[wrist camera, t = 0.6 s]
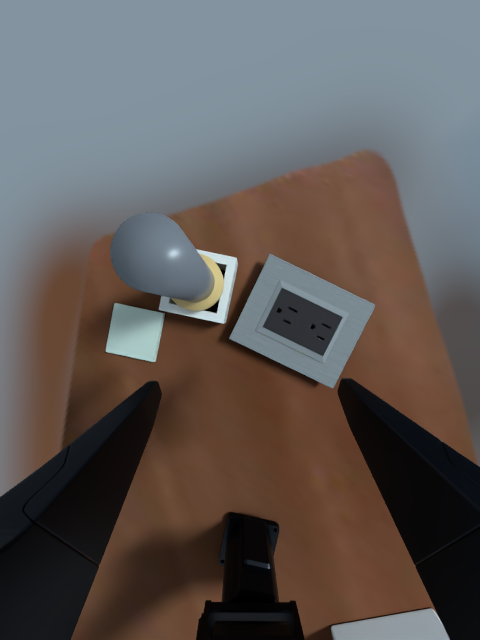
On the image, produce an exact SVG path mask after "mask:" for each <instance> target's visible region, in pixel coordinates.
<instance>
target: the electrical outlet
mask: <svg viewBox="0 0 480 640" xmlns="http://www.w3.org/2000/svg"><path fill="white" fill-rule="evenodd" d="M374 307H375V305H374V304H372V303H370V302H368V301H366V300H364V299H362V298H360V297H358V296H356V295H354V294H352V293H350V292H348V291H346V290H344V289H341V288H339V287H337V286H335V285H333V284H331V283H329V282H327V281H325V280H323V279H321V278H319V277H317V276H315V275H313V274H311V273H309V272H307V271H305V270H302V269H300V268H298V267H296V266H294V265H292V264H290V263H288V262H286V261H284V260H282V259H280V258H278V257H276V256H274V255H272V254H270V255H269V257H268V259H267V261H266V263H265V265H264V267H263V269H262V271H261V273H260V275H259V278H258V280H257V282H256V284H255V286H254V288H253V290H252V292H251V294H250V296H249V298H248V300H247V302H246V304H245V307H244V309H243V311H242V313H241V315H240V317H239V319H238V321H237V323H236V325H235V327H234V329H233V331H232V333H231V336H230V338H229V339H231V340H233V341H235V342H237V343H239V344H241V345H244V346H246V347H248V348H250V349H252V350H254V351H256V352H258V353H260V354H262V355H264V356H266V357H268V358H270V359H272V360H275V361H277V362H279V363H281V364H283V365H285V366H287V367H289V368H291V369H293V370H295V371H297V372H299V373H301V374H303V375H306V376H308V377H310V378H312V379H314V380H316V381H318V382H320V383H322V384H324V385H326V386H328V387H330V388H332V389H333V387H334V385H335V383H336V381H337V380H338V378H339V376H340V374H341V372H342V370H343V368H344V366H345V364H346V362H347V360H348V358H349V356H350V354H351V352H352V350H353V348H354V346H355V344H356V342H357V341H358V339H359V337H360V335H361V333H362V331H363V329H364V327H365V325H366V323H367V321H368V319H369V317H370V315H371V313H372V311H373V309H374Z"/></svg>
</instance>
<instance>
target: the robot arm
mask: <svg viewBox="0 0 480 640" xmlns="http://www.w3.org/2000/svg"><path fill="white" fill-rule="evenodd" d="M161 395H162V393H161V389H160V386H159V383H158V382H157V381H148V382H147V383H145V384H144V385H143V386H142V387H141V388H139V389H138V390H137V391H136V392H134V393H133V394H132V395H131V396H129V397H128V398H127V399H126V400H124V401H123V402H122V403H121V404H119V405H118V406H117V407H116V408H114V409H113V410H112V411H111V412H109V413H108V414H107V415H106V416H104V417H103V418H102V419H101V420H99V421H98V422H97V423H96V424H94V425H93V426H92V427H91V428H89V429H88V430H87V431H86V432H84V433H83V434H82V435H81V436H79V437H78V438H77V439H76V440H75V441H73V442H72V443H71V444H70V445H68V446H67V447H66V448H64V449H63V450H62V451H61V452H59V453H58V454H57V455H56V456H54V457H53V458H52V459H51V460H49V461H48V462H47V463H45V464H44V465H43V466H42V467H40V468H39V469H38V470H36V471H35V472H34V473H32V474H31V475H30V476H28V477H27V478H26V479H24V480H23V481H21V483H19V484H17V485H16V486H15V487H14V488H12V489H10V490H9V491H8V492H7V493H5V494H4V495H3V496H1V497H0V640H71V637H72V635H73V632H74V629H75V627H76V624H77V622H78V619H79V617H80V614H81V612H82V609H83V606H84V604H85V601H86V599H87V596H88V594H89V591H90V588H91V586H92V583H93V581H94V578H95V576H96V573H97V570H98V568H99V566H98V565H99V564H100V562H101V560H102V557H103V555H104V552H105V549H106V547H107V544H108V542H109V539H110V537H111V534H112V531H113V529H114V526H115V524H116V521H117V519H118V516H119V513H120V511H121V508H122V506H123V503H124V501H125V498H126V495H127V493H128V490H129V488H130V485H131V483H132V480H133V477H134V475H135V472H136V470H137V467H138V465H139V462H140V460H141V457H142V454H143V452H144V449H145V447H146V444H147V442H148V439H149V436H150V434H151V431H152V428H153V425H154V421H155V418H156V414H157V411H158V407H159V403H160V400H161ZM338 396H339V399H340V402H341V404H342V407H343V410H344V413H345V416H346V418H347V421H348V424H349V426H350V429H351V431H352V433H353V435H354V437H355V440H356V442H357V444H358V446H359V448H360V450H361V452H362V454H363V456H364V459H365V461H366V463H367V465H368V467H369V469H370V471H371V473H372V476H373V478H374V480H375V482H376V484H377V486H378V488H379V490H380V492H381V495H382V497H383V499H384V501H385V503H386V505H387V507H388V509H389V512H390V514H391V516H392V518H393V520H394V522H395V524H396V526H397V529H398V531H399V533H400V535H401V537H402V539H403V541H404V543H405V545H406V548H407V550H408V552H409V554H410V556H411V558H412V560H413V562H414V564H415V565H416V569H417V571H418V573H419V575H420V578H421V580H422V582H423V584H424V586H425V588H426V590H427V592H428V595H429V597H430V599H431V601H432V603H433V605H434V607H435V609H436V611H437V614H438V616H439V618H440V620H441V622H442V624H443V626H444V628H445V631H446V633H447V635H448V637H449V639H450V640H480V467H479V466H478V465H476V464H475V463H473V462H472V461H470V460H469V459H467V458H466V457H464V456H463V455H461V454H460V453H458V452H457V451H455V450H454V449H453V448H451V447H450V446H448V445H447V444H445V443H444V442H441V440H439V439H438V438H437V437H435V436H434V435H432V434H431V433H429V432H428V431H426V430H425V429H424V428H422V427H421V426H419V425H418V424H416V423H415V422H413V421H412V420H411V419H409V418H408V417H406V416H405V415H403V414H402V413H400V412H399V411H398V410H396V409H395V408H393V407H392V406H390V405H389V404H388V403H386V402H385V401H383V400H382V399H380V398H379V397H377V396H376V395H375V394H373V393H372V392H370V391H369V390H367V389H366V388H364V387H363V386H362V385H360V384H359V383H357V382H356V381H354V380H353V379H351V378H343V379H341V381H340V384H339V387H338ZM231 518H232V519H231ZM278 534H279V525H278V524H277V523H276V522H271V521H267V520H262V519H258V518H253V517H248V516H244V515H239V514H235V513H230V514H229V515H228V518H227V522H226V527H225V532H224V536H223V541H222V545H221V550H220V554H219V564H220V565H222V566H224V577H223V590H222V602H211V600H206V602H205V608H204V613H202V616H201V618H200V619H199V623H198V630H197V637H196V640H305V639H304V635H303V631H302V626H301V622H300V618H299V614H298V609H297V605H296V601H290V602H279V597H278V589H277V582H276V574H275V566H274V558H273V556H274V551H275V547H276V543H277V538H278Z"/></svg>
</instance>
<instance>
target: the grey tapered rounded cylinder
mask: <svg viewBox="0 0 480 640" xmlns="http://www.w3.org/2000/svg"><path fill="white" fill-rule="evenodd" d="M111 261H112V264H113V267H114V269H115V271H116V273H117V275H118V276H119V277H120V279H121V280H122V281H123V282H125V283H126V284H127V285H128V286H130V287H132V288H134V289H136V290H139V291H143V292H147V293H152V294H156V295H161V296H165V297H170V298H171V299H172V300H173V301H174V302H175V303H176V304H177V305H178V306H180V307H182V308H184V309H187V310H192V311H201V310H205V309H208V308H210V307H212V306H213V305H214V304H215V303H216V302H217V301H218V300H219V299H220V297H221V295H222V292H223V288H224V279H223V275H222V272H221V270H220V269H219V267H218V265H217V264H216V263H215V262H214V261H213V260H212V259H211V258H209V257H208V256H205V255H203V254H199V253H198V252H197V250H196V249H195V247H194V246H193V245H192V243H191V242H190V241H189V239H188V238H187V236H186V235H185V234H184V232H183V231H182V230H181V228H180V227H179V226H178V225H177V224H176V223H175V222H174V221H173V220H172V219H170V218H168V217H166V216H164V215H162V214H158V213H152V212H151V213H150V212H149V213H140V214H137V215H134V216H132V217H130V218H129V219H127V220H126V221H124V222H123V223H122V224H121V225H120V227H119V228H118V229H117V231H116V233H115V234H114V237H113V239H112V243H111Z"/></svg>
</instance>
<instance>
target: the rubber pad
mask: <svg viewBox="0 0 480 640" xmlns="http://www.w3.org/2000/svg"><path fill="white" fill-rule="evenodd" d="M164 317H165V313H160V312H156V311H151V310H146V309H142V308H137V307H132V306H127V305H123V304H118V303H114V309H113V314H112V319H111V325H110V330H109V336H108V341H107V346H106V352H109V353H114V354H118V355H123V356H128V357H132V358H137V359H142V360H146V361H151V362H155V361H156V357H157V352H158V347H159V342H160V337H161V332H162V327H163V322H164Z"/></svg>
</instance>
